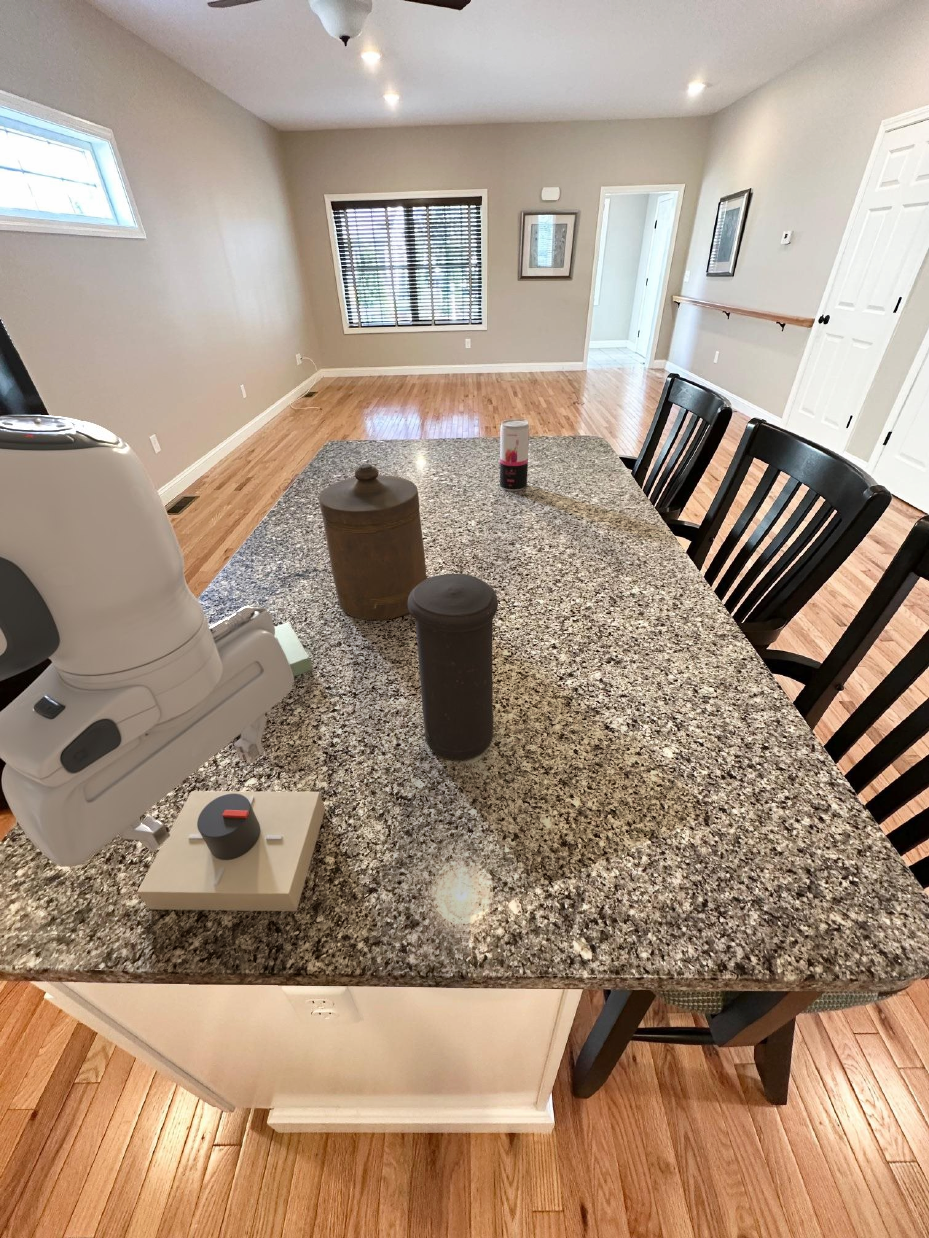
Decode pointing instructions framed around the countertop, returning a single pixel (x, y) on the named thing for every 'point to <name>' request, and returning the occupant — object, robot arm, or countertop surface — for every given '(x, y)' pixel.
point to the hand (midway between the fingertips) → (207, 794)
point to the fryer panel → (244, 882)
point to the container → (455, 662)
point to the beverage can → (514, 454)
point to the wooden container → (374, 542)
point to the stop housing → (293, 649)
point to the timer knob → (229, 826)
